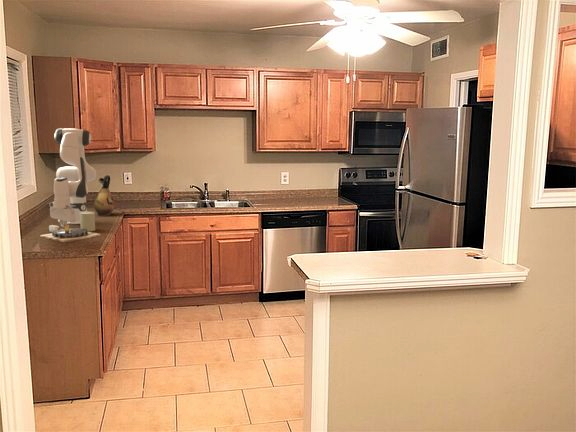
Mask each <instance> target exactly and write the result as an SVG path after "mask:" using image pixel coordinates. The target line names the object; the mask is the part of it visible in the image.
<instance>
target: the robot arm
mask: <svg viewBox="0 0 576 432" xmlns="http://www.w3.org/2000/svg"><path fill="white" fill-rule="evenodd" d="M53 138H54V141H55V143H57V144H58V145H60V147H59V157H60V159H61V160H62V162H64V163H66V164H68V165H70V166H62V167H58V168H57V170H56V173H55V177H56V178H54V181H53V194H54V198H53V201H52V202H49V207H50V208H49V216H50V218H51V219H55V220H57V222H59V224H60V228H63V229H65V225H81V224H80V213H81V212H89V210H88V202H87V195H88V194H89V187H88V183H90V182H94V181H95V180H97V179H96V178H97V171H96V169H95V168H94V167H92V166H91V165H90V164H89V163H88V161H87V160H86V156H85V155H86V154H85V153H86V152H85V147H87V146H89V145H90V143H91V142H92V135H91V132H90V131H89V130H88V129H87V130H86V129H80V128H63V127H60V128H57V129H56V130H55V132H54V137H53Z"/></svg>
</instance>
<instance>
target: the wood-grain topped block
mask: <svg viewBox="0 0 576 432" xmlns="http://www.w3.org/2000/svg"><path fill="white" fill-rule="evenodd" d="M58 227H60V226H58V225H56V224H51V225H48V232H49V233H52V232H53V231H55V230H57V228H58Z"/></svg>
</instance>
